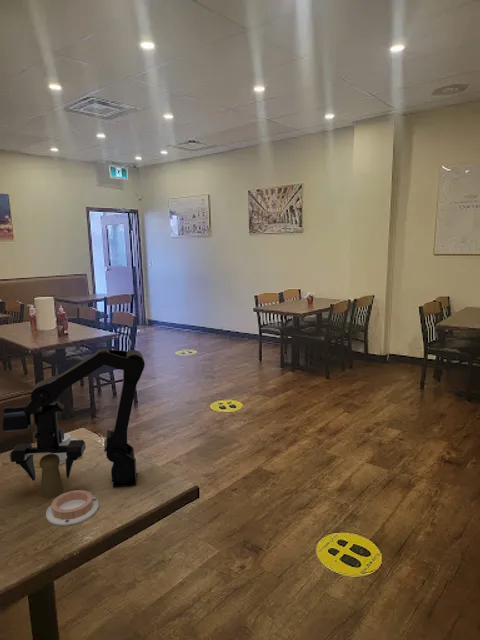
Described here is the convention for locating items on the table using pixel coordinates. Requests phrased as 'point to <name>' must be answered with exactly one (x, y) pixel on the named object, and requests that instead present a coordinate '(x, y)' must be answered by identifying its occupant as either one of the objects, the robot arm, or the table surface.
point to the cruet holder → (72, 508)
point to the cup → (64, 442)
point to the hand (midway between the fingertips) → (51, 478)
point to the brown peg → (50, 476)
